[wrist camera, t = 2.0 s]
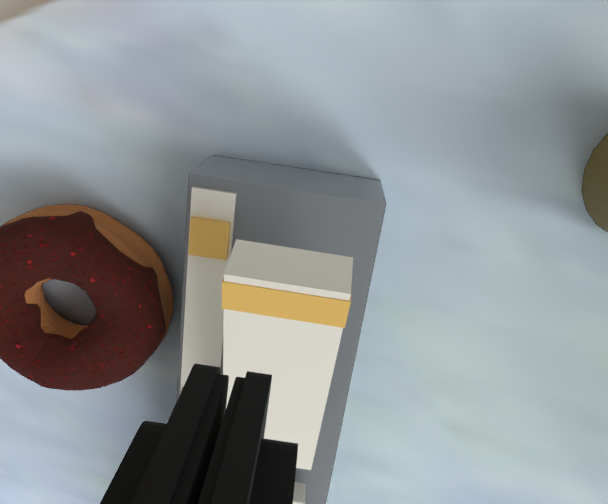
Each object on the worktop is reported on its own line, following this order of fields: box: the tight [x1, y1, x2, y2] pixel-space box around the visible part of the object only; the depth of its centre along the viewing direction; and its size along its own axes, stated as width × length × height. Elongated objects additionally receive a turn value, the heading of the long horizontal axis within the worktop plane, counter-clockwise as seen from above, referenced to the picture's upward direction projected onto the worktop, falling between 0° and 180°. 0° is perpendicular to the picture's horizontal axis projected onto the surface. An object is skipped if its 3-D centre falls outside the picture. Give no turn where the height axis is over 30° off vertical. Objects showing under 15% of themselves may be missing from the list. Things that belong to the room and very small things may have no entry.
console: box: [176, 155, 386, 504], centre depth 27 cm, size 8×27×6 cm, turn 172°
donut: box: [0, 204, 173, 391], centre depth 26 cm, size 10×10×4 cm
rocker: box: [222, 239, 353, 470], centre depth 20 cm, size 4×11×2 cm, turn 172°
